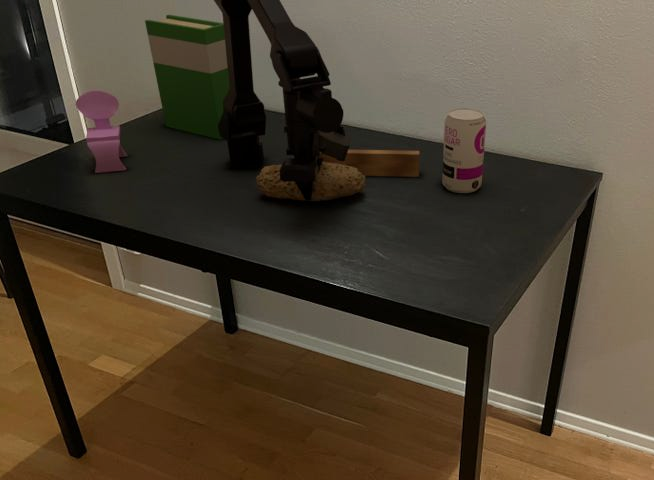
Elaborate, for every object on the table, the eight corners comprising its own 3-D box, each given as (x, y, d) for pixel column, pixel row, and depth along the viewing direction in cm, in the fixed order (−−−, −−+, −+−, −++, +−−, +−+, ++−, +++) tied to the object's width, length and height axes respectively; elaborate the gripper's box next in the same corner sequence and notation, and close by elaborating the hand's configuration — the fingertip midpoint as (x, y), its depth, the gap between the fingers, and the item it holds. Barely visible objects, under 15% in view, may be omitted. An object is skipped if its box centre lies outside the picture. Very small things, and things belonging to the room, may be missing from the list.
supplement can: (486, 182, 149) (492, 110, 140) (472, 197, 143) (477, 123, 134) (451, 175, 152) (454, 104, 143) (436, 189, 146) (438, 116, 137)
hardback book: (166, 126, 174) (144, 20, 160) (187, 117, 179) (168, 14, 165) (221, 139, 168) (204, 30, 153) (241, 130, 173) (227, 23, 158)
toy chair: (90, 174, 150) (70, 102, 141) (92, 159, 157) (73, 89, 148) (131, 170, 152) (114, 99, 143) (132, 155, 159) (116, 86, 150)
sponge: (256, 209, 140) (346, 204, 133) (248, 168, 137) (340, 162, 130) (290, 195, 152) (374, 190, 144) (283, 158, 149) (369, 151, 141)
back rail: (297, 174, 151) (295, 151, 148) (298, 171, 153) (296, 148, 150) (418, 177, 151) (419, 154, 148) (419, 173, 153) (419, 150, 150)
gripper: (341, 135, 119) (345, 221, 128) (351, 102, 134) (354, 181, 143) (274, 134, 119) (284, 220, 128) (292, 101, 134) (299, 180, 143)
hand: (308, 199), depth 135 cm, fingers closed
